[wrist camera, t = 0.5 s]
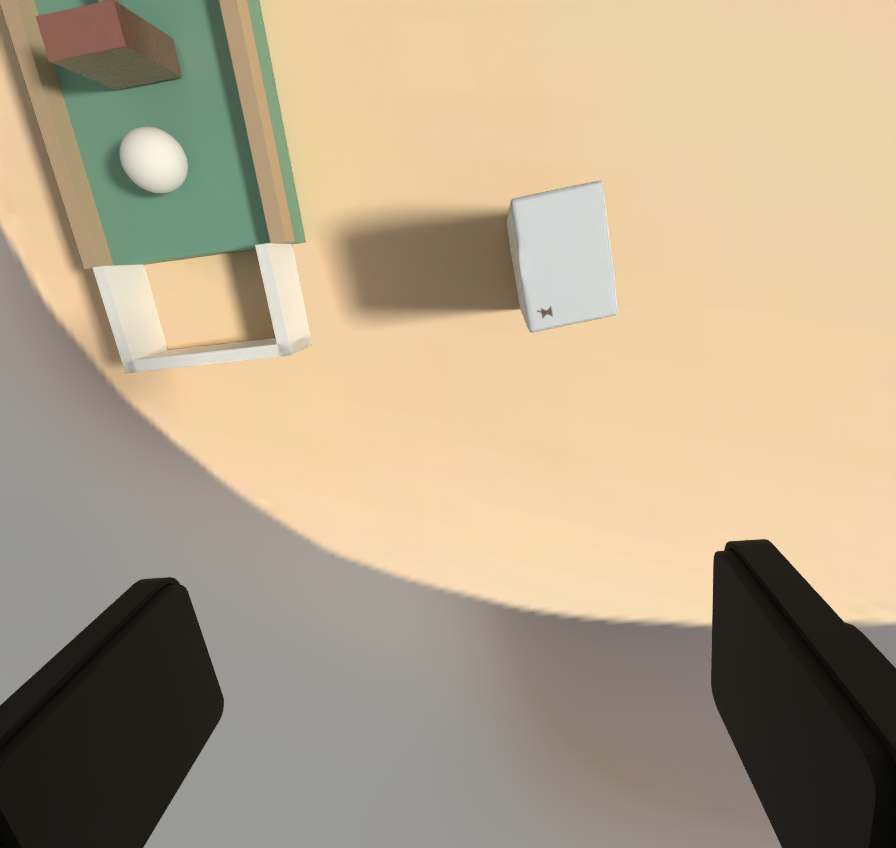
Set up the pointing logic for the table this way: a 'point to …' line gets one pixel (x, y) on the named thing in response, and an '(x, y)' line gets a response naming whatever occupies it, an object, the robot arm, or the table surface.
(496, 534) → the table surface
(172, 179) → the ball
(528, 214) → the skincare box
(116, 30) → the kicker rod
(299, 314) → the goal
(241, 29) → the pitch board
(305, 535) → the table surface
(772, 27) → the table surface
